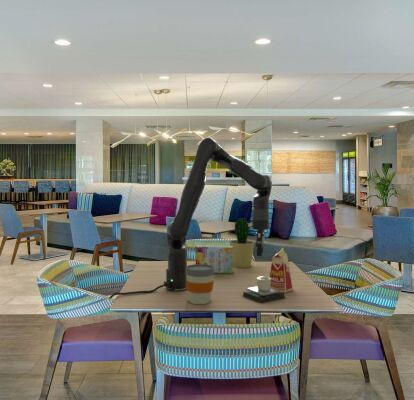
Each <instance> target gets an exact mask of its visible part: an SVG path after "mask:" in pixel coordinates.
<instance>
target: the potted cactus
mask: <svg viewBox="0 0 414 400" xmlns="http://www.w3.org/2000/svg"><path fill="white" fill-rule="evenodd" d="M233 227H234V230H233V232H235V234H236V239H234V240H230V241H228V242H229V246H233V267H234V268H241V269H242V268H250V267H251V266H252V261H253V254H254V249H255V241H253V240H248V239H249V237H248V236H249V235H250V231H251V230H250V225H249V222H248V220H246V218H245V217H244V218H243V217H240V218H237V220H236V221H235V222H234V225H233Z"/></svg>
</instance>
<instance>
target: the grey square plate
mask: <svg viewBox="0 0 414 400" xmlns="http://www.w3.org/2000/svg"><path fill="white" fill-rule="evenodd" d="M246 291H251V292H254V293H257V294H260V295H262V296H264V295H269V294H274V293H279V292H281V290H279V289H276V288H273V287H271V288H270V290H267V291H262V290H259V289H258V288H257V285H256V286H251V287H246ZM281 293H282V292H281Z"/></svg>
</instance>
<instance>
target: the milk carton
mask: <svg viewBox="0 0 414 400" xmlns="http://www.w3.org/2000/svg"><path fill="white" fill-rule="evenodd" d="M268 277H269V278H271V287H273V288H276V289H279V290H281V293H287V292H289V291H294V288H293V281H292V276H291V270H290V264H289V258H288V253H286V251H285V250H284V247H282V248H281V249H280V250H279V251H278V252H277V253H276V254H275V255H274V256H272V259H271V265H270V271H269V276H268Z"/></svg>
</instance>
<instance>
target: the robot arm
mask: <svg viewBox="0 0 414 400" xmlns="http://www.w3.org/2000/svg"><path fill="white" fill-rule="evenodd" d="M210 161H212V162H215V163H217V164H219V165H221V166H223V167H225V168H226V169H227V170H229V171H230V172H231V173H232V174H234V175H236V176H237V177H238V178H240V179H242V180H243V181H244V182H245V183H247V185H249V187H251V188H253V190H256V194H255V195H254V197H253V199H252V212H251V213H252V215H251V228H252V229H253V230H255V231H257V232H256V233H255V247H256V257H262V256H263V253H264V244H265V238H266V233H265V231H266V230H267V231H268V230H269V229H270V196H271V192H272V186H273V181H272V177H270V175H268V174H265V173H264V174H263V173H259V172H257V171H256V170H255V168H254V167H253V166H252V165H250V164H248V163H246V162H245V161H243V160H242V159H240V158H237V157H235V156H233V155H231V154H230V153H229V152H228V151H226V150H225V149H224V148H223V147H222V146H221V145H220V144H219V143H218V141H216V140H214V139H213V138H211V137H205V138H203V139H202V140H201V141H200V142H199V143H198V146H197V149H196V153H195V157H194V160H193V163H192V166H191V169H190V171H189V174H188V177H187V179H186V181H185V184H184V186H183V189H182V192H181V195H180V196H181V197H180V201H179V207H178V209H177V213H176V215H175V217H174V219H173V220H172V221H170V222H169V223H168V225H167V228H166V229H167V230H166V241H167V242H166V243H167V244H166V245H167V246H166V247H167V268H166V269H165V273H166V275H165V276H166V277H165V279H166V280H164V281H163V284H161V285H158V286H157V287H155V288H154V289H151V290H137V291H127V292H114V293H112V294H111V295H110V296H109V298H108V300H109V299H110V300H111V299H112V298H114V297H115V296H118V295H119V296H127V295H135V294H148V293H149V294H150V293H153V292H156V291H158V290H159V289H161V288H163V287H165V288H166V289H167V290H169V291H172V292H175V291H176V292H179V291H185V290H187V284H186V279H187V277H186V274H185V273H186V266H188V247H187V236H188V233H189V230H190V227H191V226H190V225H191V222H192V219H193V215H194V213H195V211H196V209H197V207H198V204H199V203H200V201H201V198H202V196H203V192H204V190H205V187H206V181H207V180H206V176H207V168H208V164H209V162H210Z"/></svg>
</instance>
